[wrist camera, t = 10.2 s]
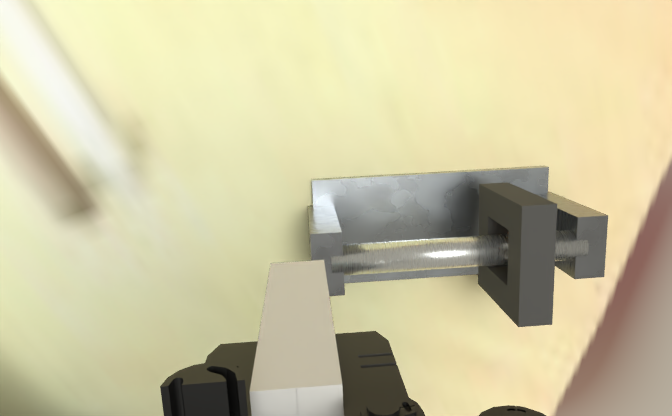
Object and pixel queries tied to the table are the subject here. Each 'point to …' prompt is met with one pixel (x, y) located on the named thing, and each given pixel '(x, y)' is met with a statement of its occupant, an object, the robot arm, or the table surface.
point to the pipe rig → (435, 226)
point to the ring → (520, 252)
